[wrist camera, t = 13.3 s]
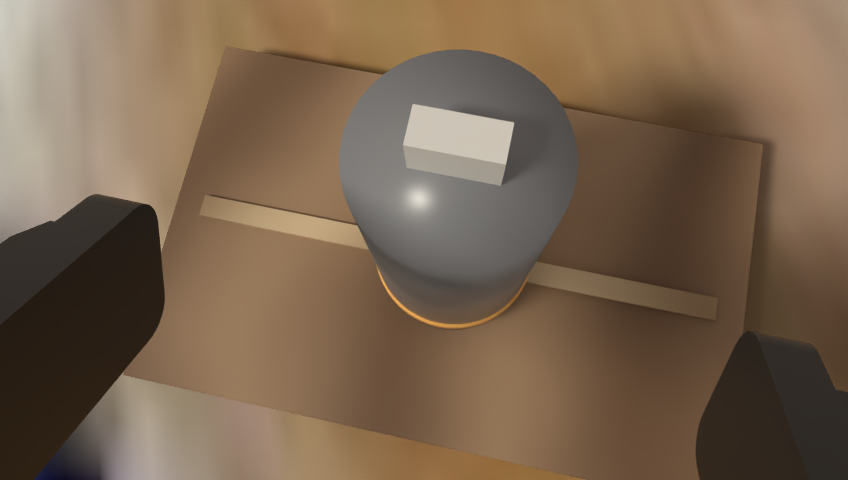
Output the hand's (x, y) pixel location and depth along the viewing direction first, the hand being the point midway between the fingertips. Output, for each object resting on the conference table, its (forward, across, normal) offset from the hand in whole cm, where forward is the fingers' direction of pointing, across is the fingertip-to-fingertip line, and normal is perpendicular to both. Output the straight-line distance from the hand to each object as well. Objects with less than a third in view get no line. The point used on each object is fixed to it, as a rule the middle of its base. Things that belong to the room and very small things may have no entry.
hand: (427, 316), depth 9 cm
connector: (+8, 0, +4) cm, 9 cm away
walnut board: (+9, 0, +5) cm, 11 cm away
